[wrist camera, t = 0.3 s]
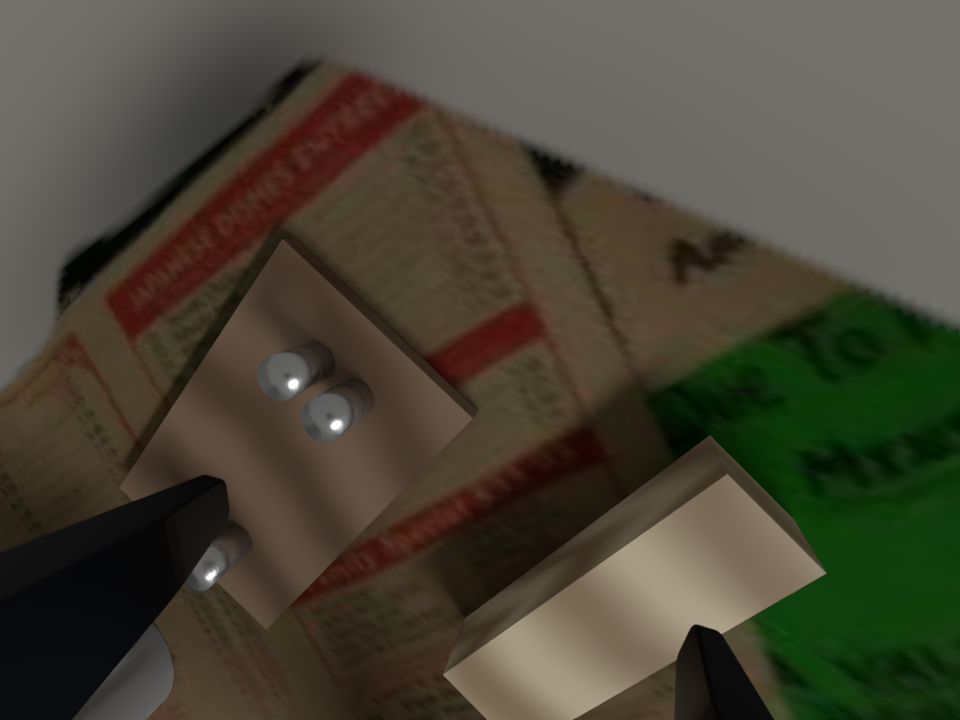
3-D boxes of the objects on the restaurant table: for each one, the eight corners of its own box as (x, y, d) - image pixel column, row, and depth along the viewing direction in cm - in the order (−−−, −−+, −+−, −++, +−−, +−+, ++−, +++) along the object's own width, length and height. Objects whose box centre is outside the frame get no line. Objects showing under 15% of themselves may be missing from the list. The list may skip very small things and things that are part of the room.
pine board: (531, 680, 28) (518, 751, 24) (466, 614, 28) (442, 674, 24) (790, 515, 22) (826, 573, 18) (708, 432, 22) (727, 473, 18)
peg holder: (277, 617, 31) (229, 671, 27) (134, 479, 31) (67, 514, 27) (478, 411, 24) (452, 444, 20) (295, 238, 24) (237, 240, 21)
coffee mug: (111, 720, 38) (-57, 884, 28) (34, 609, 37) (-166, 740, 27) (234, 679, 33) (83, 857, 24) (150, 551, 32) (-42, 683, 23)
